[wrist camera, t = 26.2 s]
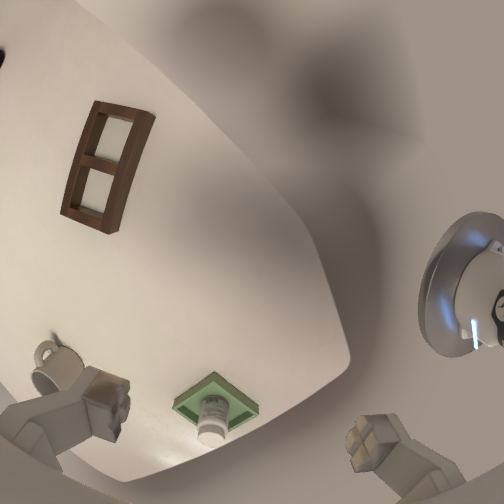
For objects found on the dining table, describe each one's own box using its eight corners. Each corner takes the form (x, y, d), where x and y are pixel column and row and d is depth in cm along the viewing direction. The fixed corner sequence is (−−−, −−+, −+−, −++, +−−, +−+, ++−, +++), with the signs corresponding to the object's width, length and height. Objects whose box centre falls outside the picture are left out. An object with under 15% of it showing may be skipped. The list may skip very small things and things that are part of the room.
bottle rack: (156, 117, 33) (148, 111, 30) (118, 231, 36) (108, 234, 33) (104, 105, 32) (94, 100, 29) (70, 212, 35) (59, 214, 32)
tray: (214, 371, 41) (213, 381, 38) (258, 405, 43) (259, 414, 40) (174, 399, 42) (171, 408, 40) (217, 429, 44) (216, 438, 42)
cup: (67, 378, 42) (45, 403, 33) (43, 334, 40) (16, 356, 31) (91, 376, 42) (70, 405, 33) (66, 329, 39) (39, 354, 31)
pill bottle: (220, 417, 43) (217, 452, 34) (196, 406, 42) (189, 441, 34) (235, 402, 42) (233, 438, 34) (210, 390, 41) (204, 426, 33)
